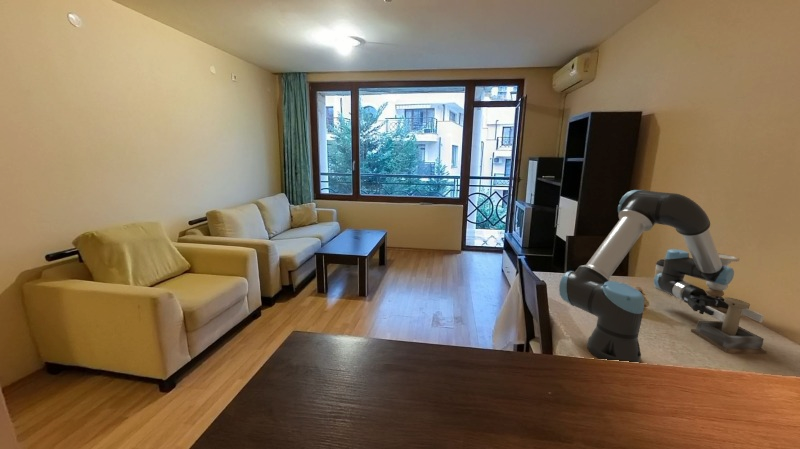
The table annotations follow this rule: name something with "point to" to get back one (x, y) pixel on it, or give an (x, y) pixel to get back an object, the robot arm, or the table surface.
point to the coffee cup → (659, 269)
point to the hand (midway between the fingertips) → (742, 318)
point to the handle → (733, 315)
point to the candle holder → (717, 288)
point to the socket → (729, 338)
